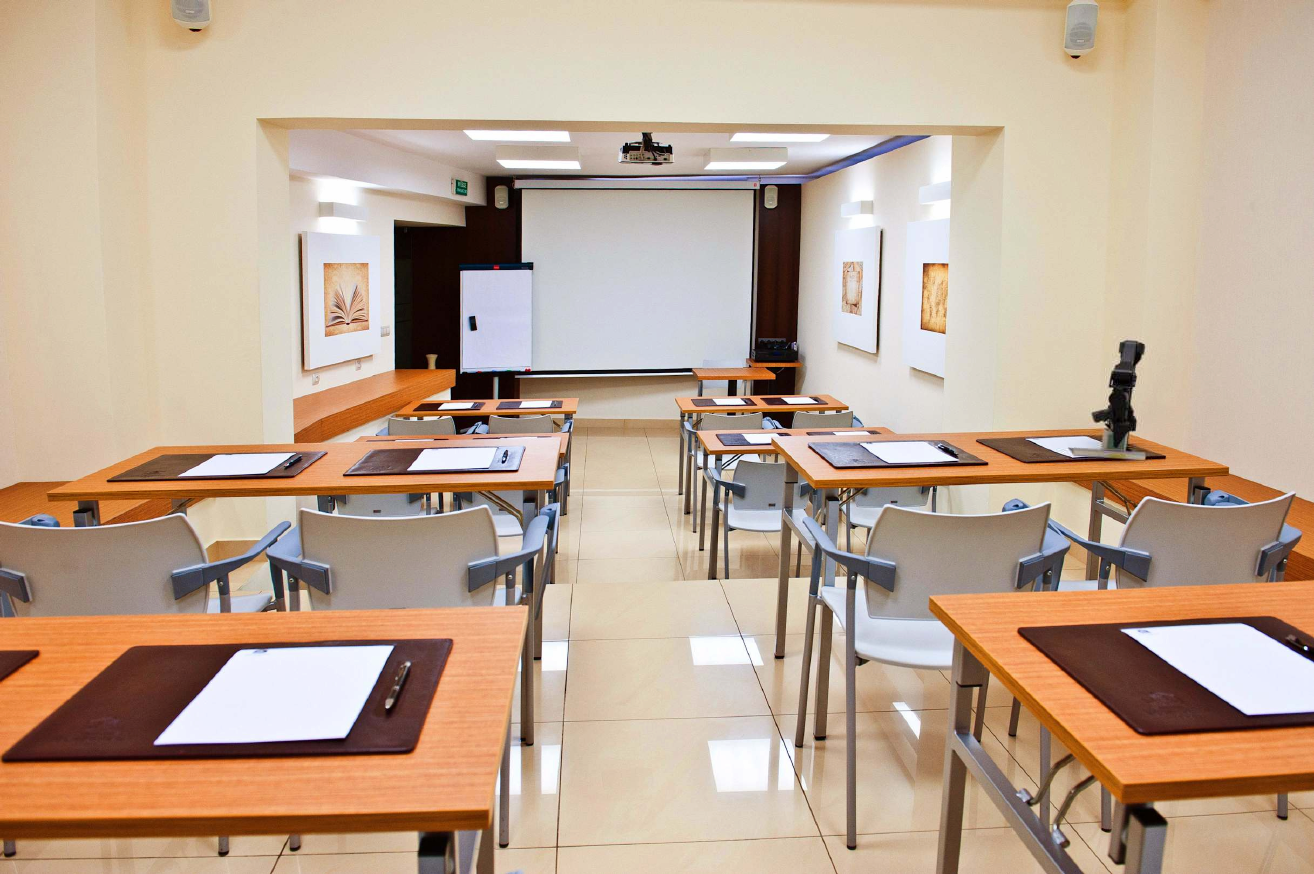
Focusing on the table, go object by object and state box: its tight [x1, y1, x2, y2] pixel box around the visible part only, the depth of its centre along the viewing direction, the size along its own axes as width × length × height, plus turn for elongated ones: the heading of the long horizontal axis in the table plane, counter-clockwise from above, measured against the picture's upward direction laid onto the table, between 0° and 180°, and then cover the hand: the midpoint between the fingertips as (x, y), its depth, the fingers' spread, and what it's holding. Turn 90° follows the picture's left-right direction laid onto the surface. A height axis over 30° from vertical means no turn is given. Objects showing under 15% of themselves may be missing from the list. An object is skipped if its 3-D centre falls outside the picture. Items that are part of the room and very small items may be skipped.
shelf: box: [1068, 447, 1146, 461], centre depth 329 cm, size 13×23×3 cm, turn 75°
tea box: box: [1100, 427, 1128, 451], centre depth 328 cm, size 5×7×8 cm
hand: (1113, 445), depth 328 cm, fingers closed on tea box, 5 cm apart
